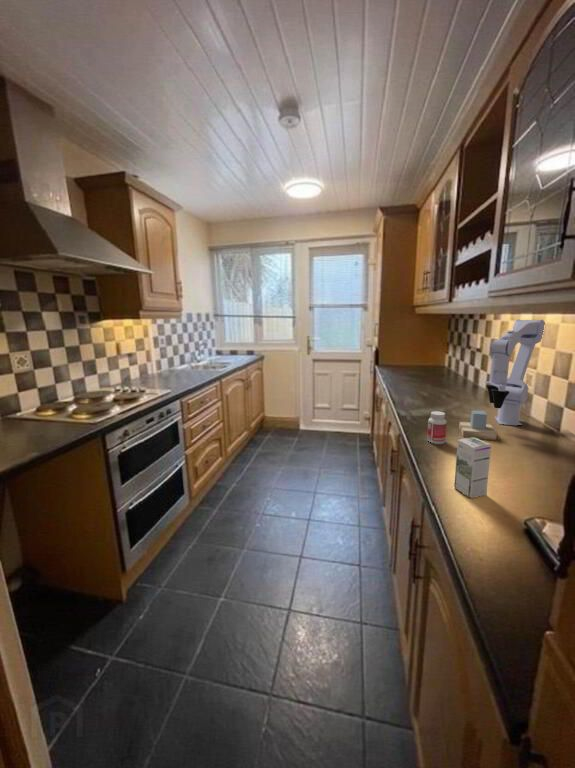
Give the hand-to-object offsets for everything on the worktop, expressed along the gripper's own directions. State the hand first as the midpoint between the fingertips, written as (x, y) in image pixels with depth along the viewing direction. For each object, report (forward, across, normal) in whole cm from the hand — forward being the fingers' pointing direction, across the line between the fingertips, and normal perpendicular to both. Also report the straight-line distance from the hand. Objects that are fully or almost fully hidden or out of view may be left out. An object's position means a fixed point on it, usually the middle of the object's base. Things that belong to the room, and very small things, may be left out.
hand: (495, 405), depth 131 cm
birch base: (+10, +4, -6) cm, 13 cm away
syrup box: (+12, +52, -16) cm, 56 cm away
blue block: (+8, +4, -6) cm, 11 cm away
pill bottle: (+11, +18, -22) cm, 30 cm away
